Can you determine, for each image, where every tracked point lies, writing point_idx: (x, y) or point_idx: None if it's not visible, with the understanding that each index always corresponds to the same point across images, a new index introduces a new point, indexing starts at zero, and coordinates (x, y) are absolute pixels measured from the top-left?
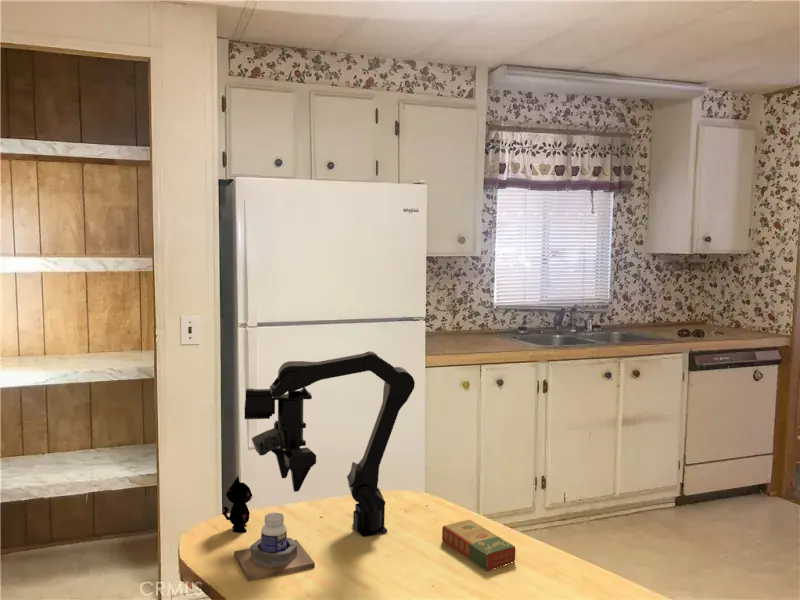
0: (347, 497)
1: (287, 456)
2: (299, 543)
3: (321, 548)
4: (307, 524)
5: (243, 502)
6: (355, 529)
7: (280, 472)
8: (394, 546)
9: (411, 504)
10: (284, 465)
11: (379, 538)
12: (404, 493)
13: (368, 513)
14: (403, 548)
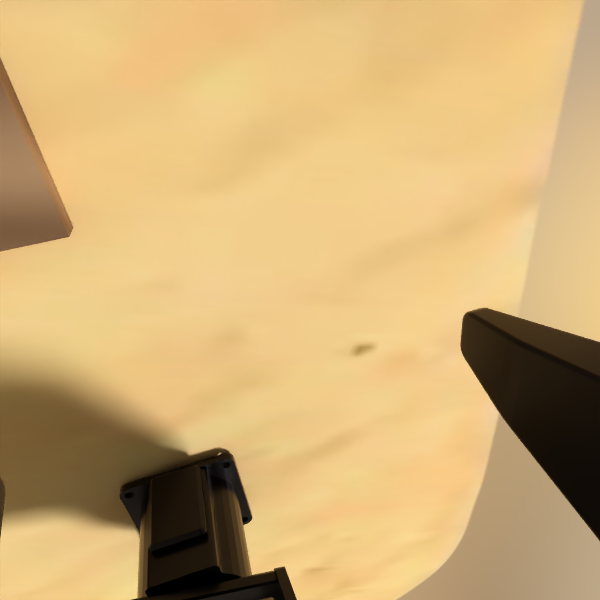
0: (484, 431)
1: None
2: (7, 248)
3: (8, 341)
4: (303, 293)
5: None
6: (171, 472)
7: (533, 330)
8: (27, 569)
9: (353, 577)
10: (589, 444)
11: (106, 528)
12: (432, 558)
13: (139, 588)
14: (8, 590)
